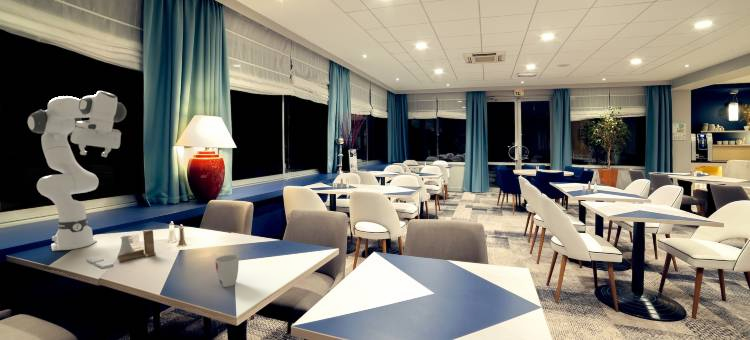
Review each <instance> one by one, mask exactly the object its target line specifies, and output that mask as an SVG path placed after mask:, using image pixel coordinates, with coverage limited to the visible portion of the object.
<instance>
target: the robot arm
mask: <svg viewBox="0 0 750 340" xmlns="http://www.w3.org/2000/svg"><path fill="white" fill-rule="evenodd" d="M95 93H96V94H94V95H86V96H83V97H82V98H80V99H79V98H77V97H73V96H68V95H66V96H64V95H63V96H58V97H54V98H52V99H51V100H49V102H48V103H47V109H46V110H43V109H38V110H37V111H35V112H32V113H31V114H30V115H29V116H28V118H27V125H28V128H29V130H30V131H31V132H32V133H36V134H42V135H41V148H42V151H43V154H44V157H45V159H46V163H47V165H48V167H49V168H51V169H52V170H54V171H58V172H60V173H61V174H60V173H59V174H50V175H45V176H42V177H41V178H39V180H38V181H37V183H36V189H37V191H38V193H40V195H41V196H44V197H46V198H48V199H49V200H51V201H52V203H53V204H54V205H55V208H56V210H57V216H58V222H57V229H58V230H57V232H56V234H55V235H54V236H52V237H51V241H54V242H53V243H51V245H50V247H51V251H52V252H53V251H54V252H55V251H68V250H69V251H70V250H76V249H82V248H84V247H85V248H86V247H88V246H91V245H92V244H94V243H97V242H98V239H94V236H93V235H94V234H93V228H92V227H90V226H88V225H89V221H88V218H87V214H86V213H87V212H86V205H85V204H84V203H83V202H81V201H79V200H76V199H73V197H72V195H75V194H81V193H82V194H83V193H88V192H92V191H95V190H96V189H97V188H98V186H99V183H100V182H99V178H98V177H97V175H96V174H95V173H93V172H90V171H88V170H86V169H84V168H83V167H82V165H80V164H79V163H78V162H77V160H76V158H75V155H74V153H73V151H72V149H71V145H70V144H69V141H68V136H70V142H71V143H73V144H75V145H78V148H79V150H80V152H79V154H80V155H82V156H86V155H87V152H88V151H86V150H85V148H86V147H87V146H92V147H98V148H104V151H103V152H101V155H100V156H101V157H104V158H107V157H108V154H109V153H110V152H111V151H112V149H116V150H117V149H119V148H120V146H121V135H122V132H121V131H120V130H119V129H114V128H113V127H114V123H119V122H122V121H123V120H124V119H126V116H127V112H128V111H127V109H126V107H125V105H124V104H123V103H122V102H119V101H118V96H117V95H115V94H114V93H112V92H111V93H110V92H107V91H105V90H104V91H103V90H98V91H97V92H95ZM82 118H83V119H85V118H89V119H88V120H82Z"/></svg>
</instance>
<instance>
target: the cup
mask: <svg viewBox="0 0 750 340" xmlns="http://www.w3.org/2000/svg"><path fill="white" fill-rule="evenodd" d="M239 259H240V258H239V255H236V254H227V255H226V254H225V255H221V256H218V257H216V258H215V259H214V260H215V261H214V262H215V269H216V274H217V278H218V281H219V284H220V286H221V287H223V288H227V287H232V286H235V285H236V283H237V279H238V276H239V275H238V274H239Z"/></svg>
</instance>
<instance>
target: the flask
mask: <svg viewBox="0 0 750 340" xmlns="http://www.w3.org/2000/svg"><path fill="white" fill-rule="evenodd" d="M120 239H121V245H120V248H119V251H118V254H117V257H116V259H118V255H120V254H124V253H128V252H132V251H134V250H133V248H132V247H133V246H132V245H131V242H130V236H129V235H124V236H121V237H120ZM118 260H119V259H118Z"/></svg>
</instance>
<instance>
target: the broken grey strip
mask: <svg viewBox="0 0 750 340" xmlns="http://www.w3.org/2000/svg"><path fill="white" fill-rule="evenodd" d="M85 261H86V262H88V263H91V264H92V265H94V266H96V267H97V268H98V267H99V268H101V269H107V268H112V267H114V263H113V262H110V261H108V260H106V259H105V260H104V259H103V258H102V257H99V256H97V255H95V256H92V257H88V258H85Z"/></svg>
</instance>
